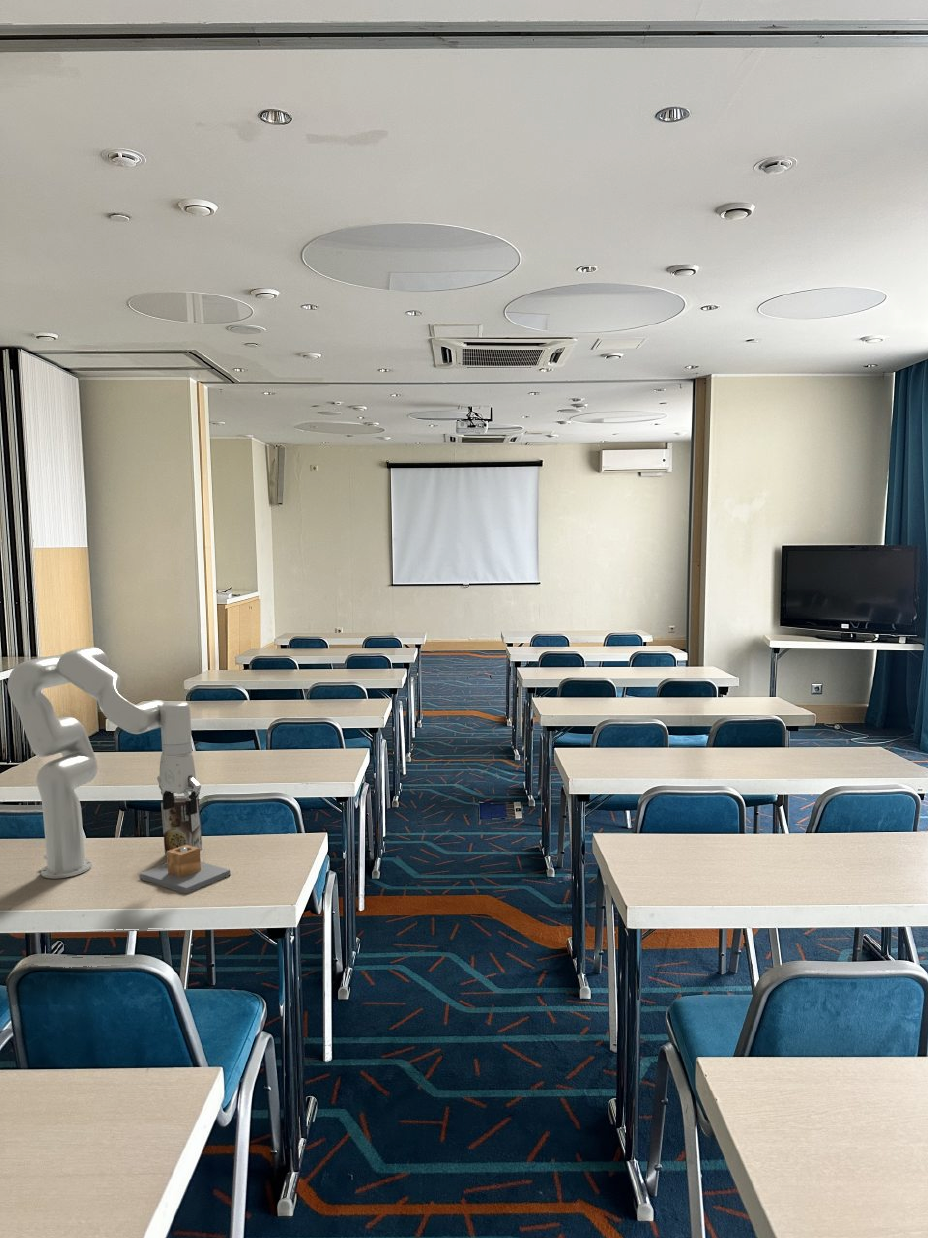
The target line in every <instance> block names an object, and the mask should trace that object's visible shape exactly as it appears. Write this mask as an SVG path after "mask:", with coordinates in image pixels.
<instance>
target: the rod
mask: <svg viewBox="0 0 928 1238" xmlns="http://www.w3.org/2000/svg"><path fill="white" fill-rule="evenodd" d="M186 851H187V847H182V848H180V853H183V852H186Z"/></svg>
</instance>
